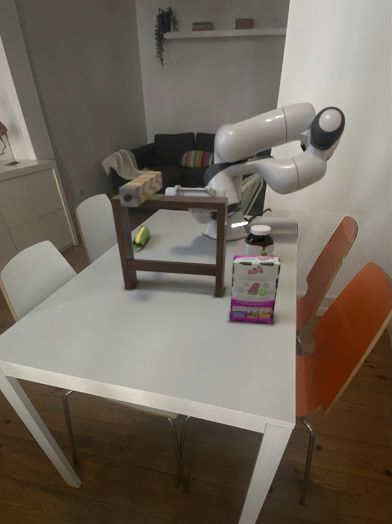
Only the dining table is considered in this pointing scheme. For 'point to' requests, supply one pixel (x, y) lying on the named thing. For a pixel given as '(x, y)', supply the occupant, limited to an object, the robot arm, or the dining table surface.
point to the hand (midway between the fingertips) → (192, 188)
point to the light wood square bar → (140, 189)
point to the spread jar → (259, 241)
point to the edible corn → (141, 237)
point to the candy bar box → (254, 288)
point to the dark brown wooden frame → (135, 265)
